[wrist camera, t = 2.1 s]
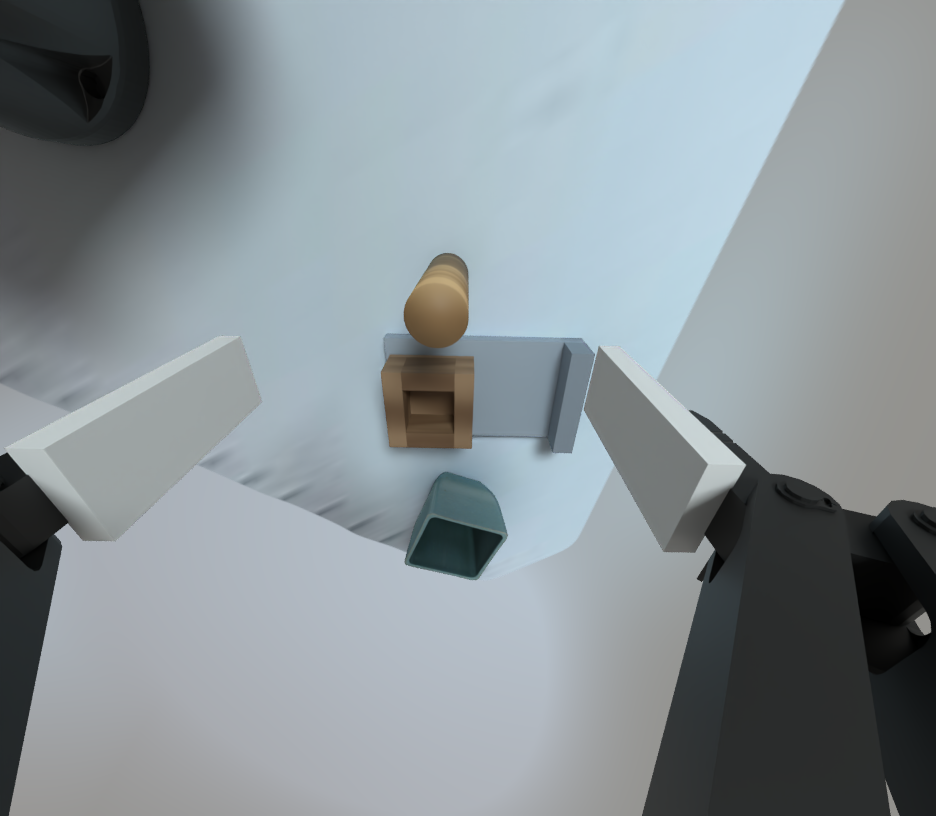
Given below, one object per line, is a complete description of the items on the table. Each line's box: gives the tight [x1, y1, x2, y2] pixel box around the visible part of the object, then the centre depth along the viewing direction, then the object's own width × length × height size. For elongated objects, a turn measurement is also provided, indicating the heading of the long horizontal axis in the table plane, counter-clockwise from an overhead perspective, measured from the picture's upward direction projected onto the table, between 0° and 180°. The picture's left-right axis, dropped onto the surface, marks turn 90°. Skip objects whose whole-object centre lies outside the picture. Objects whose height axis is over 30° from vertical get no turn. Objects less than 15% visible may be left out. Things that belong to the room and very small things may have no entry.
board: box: [384, 334, 595, 453], centre depth 34 cm, size 11×19×4 cm, turn 89°
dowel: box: [404, 253, 468, 348], centre depth 24 cm, size 4×4×13 cm
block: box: [381, 354, 475, 449], centre depth 33 cm, size 8×8×4 cm
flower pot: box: [405, 472, 508, 580], centre depth 40 cm, size 9×9×9 cm
